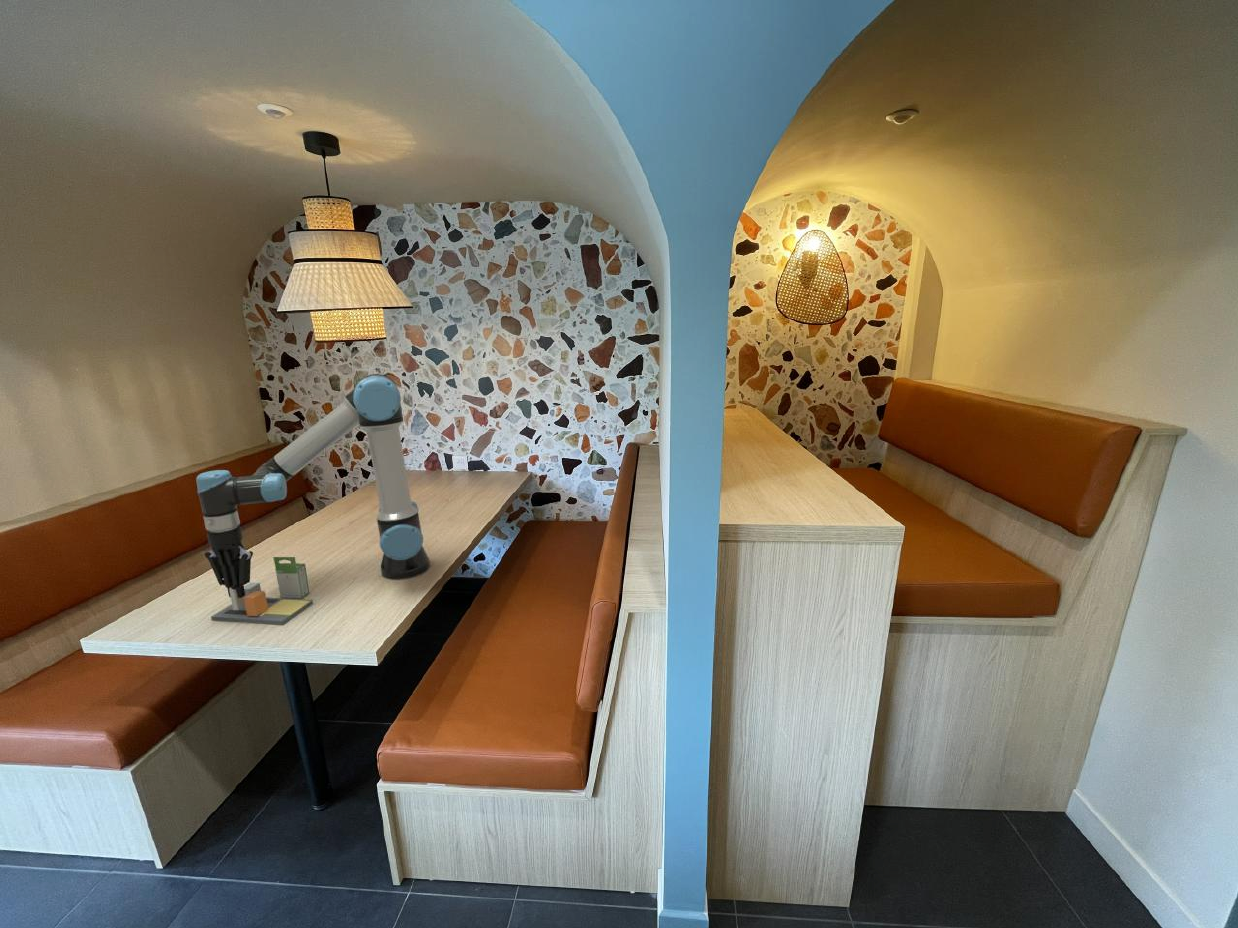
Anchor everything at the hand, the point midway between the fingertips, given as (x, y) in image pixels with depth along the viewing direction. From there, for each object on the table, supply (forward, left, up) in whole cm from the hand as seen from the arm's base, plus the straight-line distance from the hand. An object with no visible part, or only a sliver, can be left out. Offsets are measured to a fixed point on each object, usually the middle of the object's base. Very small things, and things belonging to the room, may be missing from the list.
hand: (239, 607), depth 151 cm
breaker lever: (0, +5, -1) cm, 6 cm away
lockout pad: (-4, +11, -2) cm, 12 cm away
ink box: (-13, +6, -3) cm, 15 cm away
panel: (-3, +4, -3) cm, 6 cm away
